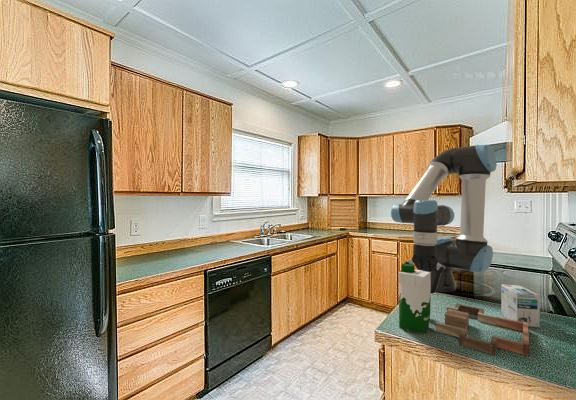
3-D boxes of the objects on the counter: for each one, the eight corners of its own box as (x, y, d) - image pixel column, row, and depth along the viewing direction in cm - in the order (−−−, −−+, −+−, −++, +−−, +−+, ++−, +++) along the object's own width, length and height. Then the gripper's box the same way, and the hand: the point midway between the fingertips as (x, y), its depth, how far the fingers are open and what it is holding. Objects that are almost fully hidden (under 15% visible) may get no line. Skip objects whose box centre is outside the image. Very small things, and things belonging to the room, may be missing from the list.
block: (448, 320, 100) (448, 308, 100) (468, 325, 96) (468, 313, 96) (444, 326, 96) (444, 314, 96) (466, 331, 92) (466, 319, 92)
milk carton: (404, 319, 101) (405, 261, 100) (433, 326, 95) (433, 265, 95) (395, 327, 94) (395, 266, 94) (425, 336, 88) (425, 270, 88)
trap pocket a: (456, 310, 109) (456, 303, 109) (483, 316, 103) (483, 309, 103) (454, 314, 105) (454, 307, 105) (482, 320, 99) (482, 313, 99)
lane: (447, 312, 106) (447, 306, 106) (527, 331, 92) (527, 323, 92) (435, 331, 92) (435, 323, 92) (528, 356, 77) (529, 346, 77)
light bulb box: (540, 328, 94) (540, 294, 94) (516, 326, 95) (517, 293, 95) (521, 314, 105) (521, 285, 104) (500, 313, 106) (500, 283, 106)
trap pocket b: (462, 338, 87) (462, 329, 87) (496, 347, 82) (496, 338, 82) (459, 345, 83) (459, 336, 83) (495, 355, 78) (495, 345, 78)
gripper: (402, 243, 103) (401, 309, 103) (443, 247, 95) (442, 319, 95) (408, 240, 109) (408, 303, 109) (447, 244, 101) (447, 312, 101)
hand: (424, 311), depth 102 cm, fingers closed
